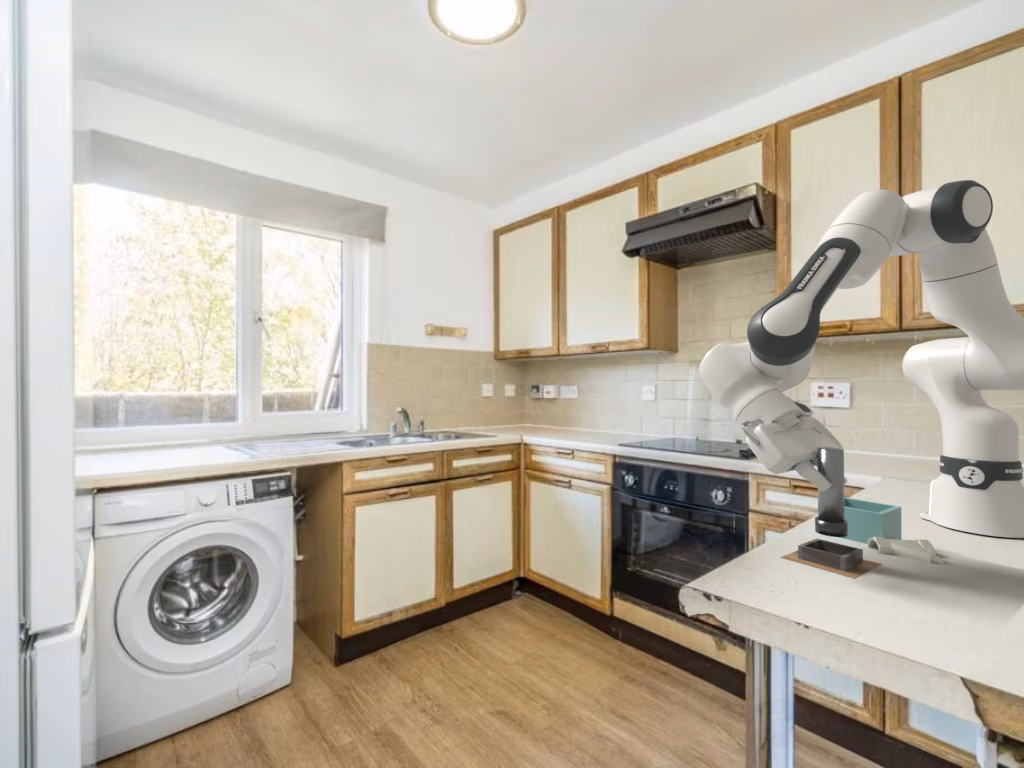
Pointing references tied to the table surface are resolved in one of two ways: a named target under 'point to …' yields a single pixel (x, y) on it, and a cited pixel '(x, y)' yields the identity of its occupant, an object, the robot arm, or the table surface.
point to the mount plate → (832, 558)
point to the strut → (831, 494)
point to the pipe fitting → (906, 548)
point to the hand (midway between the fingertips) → (835, 486)
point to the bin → (871, 520)
